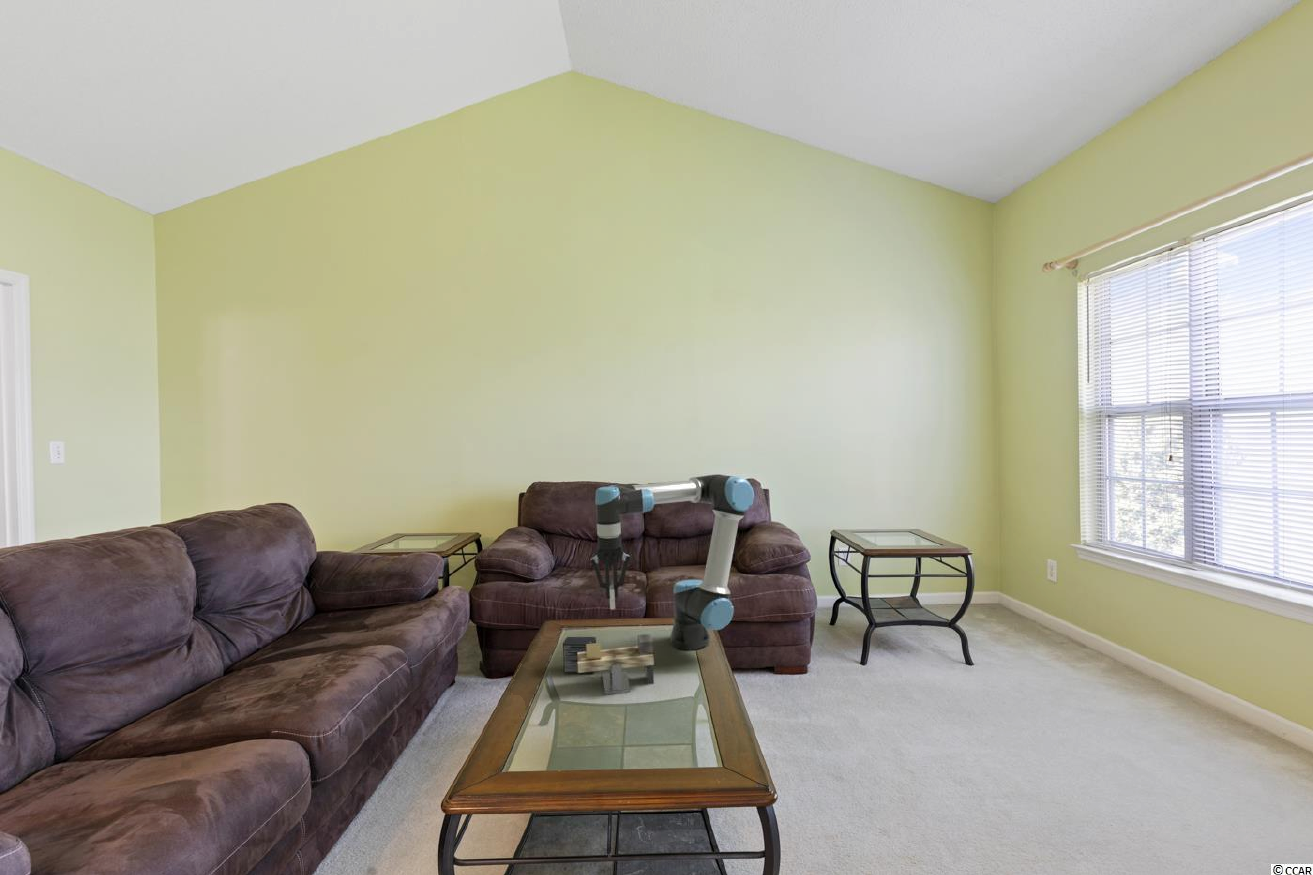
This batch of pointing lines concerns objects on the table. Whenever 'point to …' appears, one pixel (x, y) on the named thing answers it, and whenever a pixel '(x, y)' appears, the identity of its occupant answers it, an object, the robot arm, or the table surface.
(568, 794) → the table surface
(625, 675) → the fulcrum
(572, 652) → the small box
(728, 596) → the robot arm
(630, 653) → the beam
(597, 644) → the block
